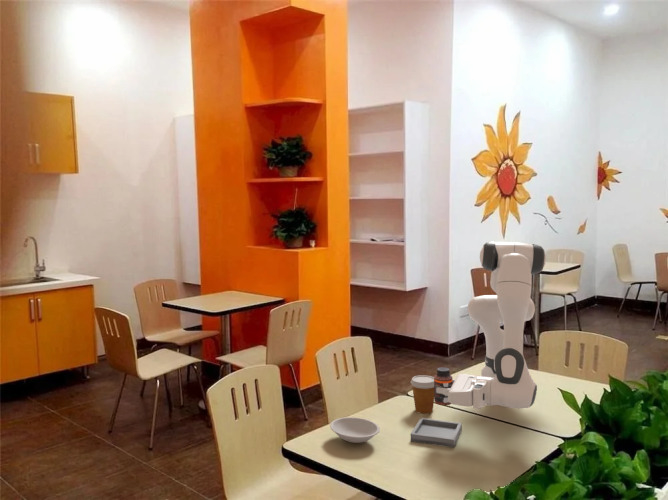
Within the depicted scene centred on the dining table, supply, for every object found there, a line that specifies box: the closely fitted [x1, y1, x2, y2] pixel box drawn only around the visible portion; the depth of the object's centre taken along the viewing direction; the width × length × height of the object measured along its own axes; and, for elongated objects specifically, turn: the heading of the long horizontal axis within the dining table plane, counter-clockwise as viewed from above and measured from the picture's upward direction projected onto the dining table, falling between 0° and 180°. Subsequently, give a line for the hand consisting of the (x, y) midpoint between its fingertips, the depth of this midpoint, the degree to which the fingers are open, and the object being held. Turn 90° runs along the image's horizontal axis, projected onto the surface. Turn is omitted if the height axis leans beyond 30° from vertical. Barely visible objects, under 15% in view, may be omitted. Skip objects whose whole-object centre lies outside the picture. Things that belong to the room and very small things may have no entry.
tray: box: [410, 417, 463, 448], centre depth 187 cm, size 14×14×2 cm
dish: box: [329, 416, 381, 444], centre depth 184 cm, size 18×14×5 cm
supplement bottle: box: [433, 367, 454, 406], centre depth 185 cm, size 6×6×11 cm
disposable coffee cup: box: [410, 374, 435, 415], centre depth 209 cm, size 10×10×12 cm
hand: (439, 385), depth 186 cm, fingers closed on supplement bottle, 6 cm apart
